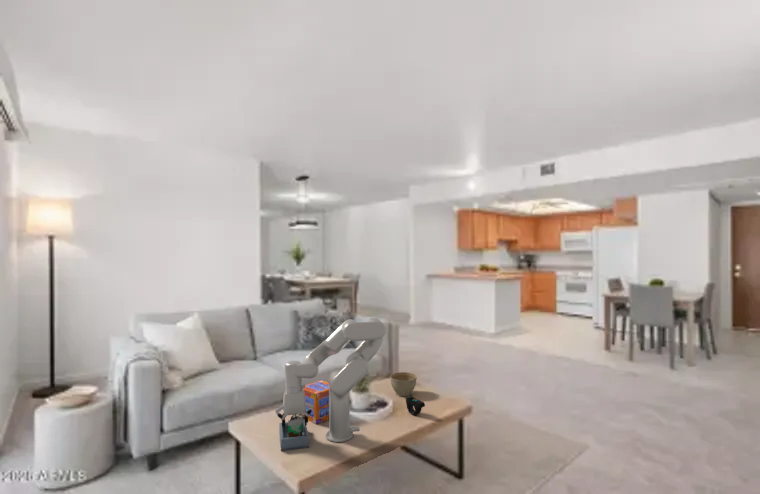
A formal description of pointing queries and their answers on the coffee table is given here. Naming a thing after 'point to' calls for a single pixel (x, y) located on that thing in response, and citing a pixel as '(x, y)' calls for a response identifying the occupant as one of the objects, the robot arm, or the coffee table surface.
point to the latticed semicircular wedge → (295, 425)
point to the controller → (416, 403)
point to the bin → (293, 438)
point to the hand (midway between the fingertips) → (295, 425)
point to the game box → (317, 401)
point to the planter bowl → (403, 383)
